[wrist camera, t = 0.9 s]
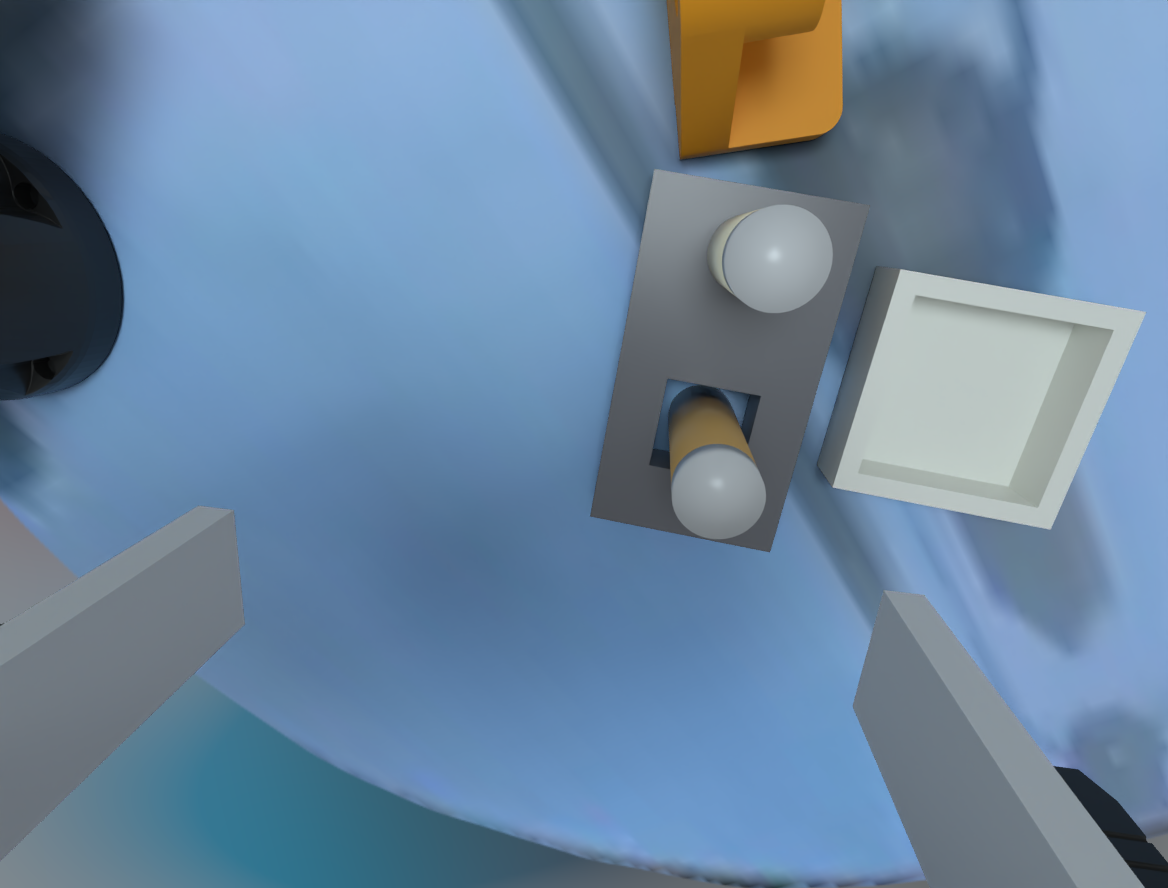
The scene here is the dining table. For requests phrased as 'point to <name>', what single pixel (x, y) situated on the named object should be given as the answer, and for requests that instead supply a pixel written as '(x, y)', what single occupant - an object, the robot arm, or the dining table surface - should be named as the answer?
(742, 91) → the bracket
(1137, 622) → the dining table surface
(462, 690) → the dining table surface
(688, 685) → the dining table surface
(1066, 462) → the parts tray
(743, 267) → the fuse block
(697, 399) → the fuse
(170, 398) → the dining table surface
